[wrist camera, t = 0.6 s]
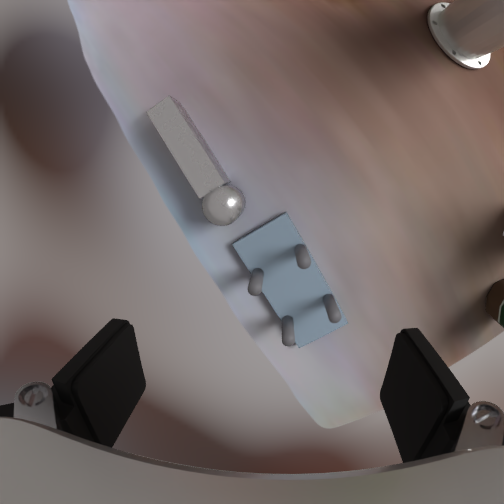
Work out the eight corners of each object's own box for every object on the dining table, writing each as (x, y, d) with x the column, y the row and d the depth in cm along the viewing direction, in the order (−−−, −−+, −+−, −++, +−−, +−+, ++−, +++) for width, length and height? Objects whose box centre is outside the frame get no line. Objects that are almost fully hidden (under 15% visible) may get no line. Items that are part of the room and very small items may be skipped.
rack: (233, 242, 40) (225, 256, 33) (286, 211, 38) (287, 219, 32) (298, 343, 43) (301, 370, 36) (346, 319, 41) (356, 343, 35)
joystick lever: (156, 120, 36) (142, 115, 32) (183, 100, 35) (172, 92, 31) (222, 226, 39) (215, 233, 35) (252, 208, 38) (249, 212, 34)
